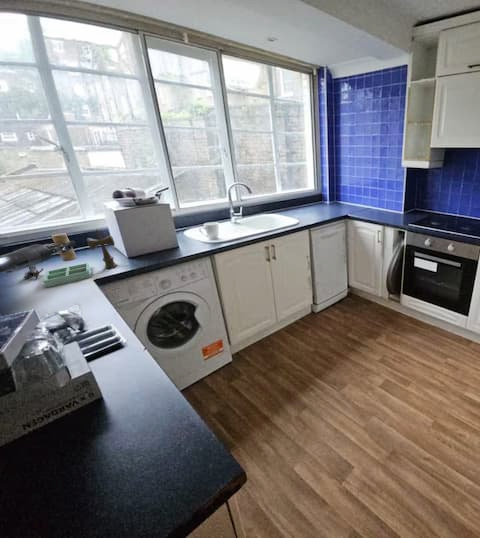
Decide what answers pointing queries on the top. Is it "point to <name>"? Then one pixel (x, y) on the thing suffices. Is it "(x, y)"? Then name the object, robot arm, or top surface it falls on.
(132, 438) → the top surface
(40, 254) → the robot arm
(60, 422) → the top surface
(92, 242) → the kendama
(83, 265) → the grid
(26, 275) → the eagle figurine
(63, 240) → the tan cylinder
